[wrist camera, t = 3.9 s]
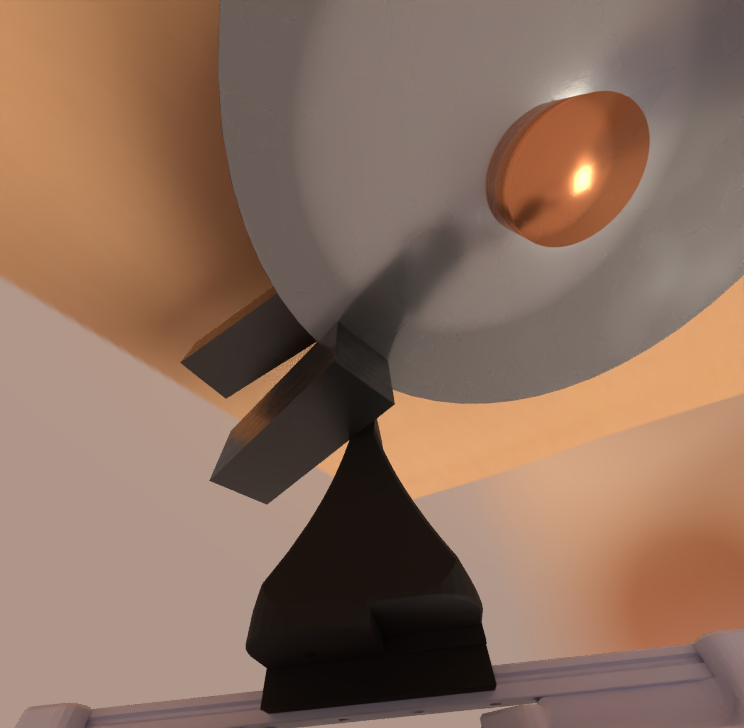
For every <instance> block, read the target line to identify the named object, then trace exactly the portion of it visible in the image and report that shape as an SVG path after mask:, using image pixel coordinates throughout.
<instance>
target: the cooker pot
mask: <svg viewBox="0 0 744 728" xmlns="http://www.w3.org/2000/svg"><path fill="white" fill-rule="evenodd" d="M315 342H317V341H316V340H315V339H314V338H313V337H312V336H311V335H310V334H309V333H308V332H307V330H306V329H305V328H304V327H303V326H302V325H301V324H300V323H299V322H298V321H297V319H296V318H295V317H294V315H293V314H292V313H291V311H290V310H289V309H288V307H287V306H286V305H285V303H284V302H283V300H282V299H281V298H280V296H279V295H278V293H277V291H276V290H275V288H274V286H273V287H272V288H271V289H269V290H268V291H266V292H265V293H264V294H262V295H261V296H260V297H258V298H257V299H255V300H254V301H253V302H251V303H250V304H249V305H247V306H246V307H244V308H243V309H242V310H240V311H239V312H238V313H236V314H235V315H233V316H232V317H231V318H229V319H228V320H227V321H225V322H224V323H223V324H221V325H220V326H218V327H217V328H216V329H214V330H213V331H212V332H210V333H209V334H207V335H206V336H205V337H203V338H202V339H201V340H199V341H198V342H196V344H195V345H194V346H193V347H192V349H191V350H190V351H189V352H188V354H187V355H186V356H185V357H184V359H183V360H182V361H181V362H180V363H181V364H183V365H184V366H185V367H186V368H188V369H189V370H190V371H192V372H193V373H194V374H195V375H197V376H198V377H199V378H200V379H202V380H203V381H204V382H205V383H207V384H208V385H209V386H211V387H212V388H213V389H214V390H216V391H217V392H218V393H219V394H221V395H222V396H223V397H224V398H228V397H229V396H231V395H233V394H234V393H236V392H237V391H239V390H240V389H242V388H244V387H245V386H247V385H248V384H250V383H252V382H253V381H255V380H256V379H258V378H260V377H261V376H263V375H264V374H266V373H268V372H269V371H271V370H272V369H274V368H275V367H277V366H279V365H280V364H282V363H283V362H285V361H287V360H288V359H290V358H291V357H293V356H295V355H296V354H298V353H299V352H301V351H302V350H304V349H306V348H307V347H309V346H310V345H312V344H314V343H315Z"/></svg>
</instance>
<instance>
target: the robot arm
mask: <svg viewBox="0 0 744 728" xmlns="http://www.w3.org/2000/svg"><path fill="white" fill-rule="evenodd" d="M482 613H483V607H482V603H481V600H480V597H479V595H478V593H477V590H476V588H475V586H474V585H473V583H472V581H471V579H470V577H469V576H468V574H467V572H466V571H465V569H464V567H463V566H462V564H461V562H460V560H459V559H458V557H457V556H456V555H455V553H454V552H453V551H452V550H451V549H450V548H449V547H448V546H447V544H446V543H445V542H444V541H443V540H442V538H441V537H440V536H439V535H438V533H437V532H436V531H435V530H434V529H433V527H432V526H431V525H430V523H429V522H428V521H427V520H426V518H425V517H424V515H423V514H422V513H421V511H420V510H419V509H418V507H417V506H416V504H415V503H414V502H413V500H412V499H411V497H410V496H409V494H408V493H407V491H406V490H405V488H404V486H403V485H402V483H401V482H400V480H399V478H398V477H397V475H396V473H395V471H394V470H393V468H392V466H391V464H390V462H389V460H388V458H387V456H386V454H385V452H384V450H383V446H382V440H381V435H380V431H379V426H378V422H377V419H375V420H374V421H373V422H371V423H370V424H369V425H368V426H366V427H365V428H364V429H363V430H361V431H360V432H359V433H357V434H356V435H355V436H354V437H352V438H351V439H350V440H349V443H348V446H347V448H346V451H345V454H344V456H343V459H342V461H341V463H340V466H339V468H338V470H337V472H336V475H335V477H334V479H333V481H332V483H331V485H330V487H329V489H328V490H327V492H326V494H325V496H324V498H323V500H322V501H321V503H320V505H319V506H318V508H317V510H316V512H315V513H314V515H313V516H312V518H311V520H310V521H309V523H308V524H307V526H306V527H305V529H304V530H303V531H302V533H301V534H300V536H299V537H298V538H297V540H296V541H295V543H294V544H293V546H292V547H291V548H290V550H289V551H288V552H287V554H286V555H285V556H284V558H283V559H282V560H281V561H280V563H279V564H278V565H277V566H276V568H275V569H274V570H273V571H272V573H271V574H270V575H269V576H268V578H267V579H266V580H265V581H264V582H263V584H262V586H261V589H260V592H259V594H258V598H257V601H256V604H255V607H254V610H253V614H252V618H251V622H250V627H249V632H248V637H247V641H246V650H247V652H248V654H249V655H250V656H251V657H252V658H254V659H255V660H256V661H258V662H259V663H260V664H262V665H263V666H265V667H266V668H267V671H266V676H265V682H264V688H263V691H255V692H246V693H237V694H227V695H218V696H209V697H201V698H190V699H181V700H173V701H164V702H154V703H144V704H135V705H126V706H117V707H108V708H99V709H91V708H90V707H88V706H86V705H82V704H77V703H60V704H52V705H43V706H33V707H29V708H28V709H26V710H25V711H24V713H23V714H22V716H21V718H20V719H19V721H18V723H17V724H16V726H15V728H297V727H307V726H317V725H326V724H336V723H346V722H356V721H366V720H376V719H385V718H395V717H404V716H415V715H425V714H435V713H444V712H454V711H464V710H473V709H483V708H494V707H503V706H513V705H519V706H514V707H510V708H506V709H502V710H497V711H493V712H489V713H485V714H482V716H481V718H480V720H481V725H482V727H481V728H744V628H738V629H729V630H721V631H714V632H710V633H707V634H703V635H701V636H699V637H698V638H697V639H696V640H695V641H694V644H687V645H677V646H668V647H659V648H650V649H641V650H632V651H622V652H612V653H604V654H594V655H585V656H576V657H567V658H557V659H548V660H539V661H530V662H521V663H512V664H503V665H494V666H492V665H491V661H490V658H489V654H488V650H487V646H486V643H487V642H486V637H485V634H484V630H483V626H482ZM533 703H537V704H533ZM523 704H527V705H523Z"/></svg>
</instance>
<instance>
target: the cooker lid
mask: <svg viewBox="0 0 744 728" xmlns="http://www.w3.org/2000/svg"><path fill="white" fill-rule="evenodd" d="M218 82H219V95H220V108H221V121H222V133H223V138H224V144H225V149H226V154H227V160H228V165H229V171H230V176H231V181H232V185H233V189H234V192H235V195H236V199H237V202H238V205H239V209H240V212H241V215H242V219H243V222H244V225H245V228H246V231H247V233H248V235H249V238H250V240H251V242H252V245H253V247H254V249H255V251H256V254H257V256H258V258H259V261H260V263H261V265H262V267H263V269H264V270H265V272H266V274H267V276H268V277H269V279H270V281H271V283H272V284H273V286H274V288H275V290H276V291H277V293H278V295H279V296H280V298H281V299H282V300H283V302H284V303H285V305H286V306H287V307H288V309H289V310H290V311H291V313H292V314H293V315H294V317H295V318H296V319H297V321H298V322H299V323H300V324H301V325H302V326H303V327H304V328H305V329H306V330H307V332H308V333H309V334H310V335H311V336H312V337H313V338H314V339H315V340H316V341H317V343H316V344H315V345H314V346H313V347H312V348H311V349H310V350H309V351H308V352H307V353H306V354H305V355H304V356H303V357H302V358H301V359H300V361H299V362H298V363H297V364H296V365H295V366H294V367H293V368H292V369H291V370H290V371H289V372H288V373H287V374H286V375H285V376H284V377H283V378H282V379H281V380H280V381H279V382H278V383H277V384H276V385H275V386H274V387H273V388H272V389H271V390H270V391H269V392H268V393H267V394H266V396H265V397H264V398H263V399H262V400H261V401H260V402H259V403H258V404H257V405H256V406H255V407H254V408H253V409H252V410H251V411H250V412H249V413H248V414H247V415H246V416H245V417H244V418H243V419H242V420H241V421H240V422H239V423H238V424H237V426H236V427H234V428H233V429H232V431H231V432H230V434H229V437H228V439H227V441H226V444H225V446H224V448H223V451H222V453H221V456H220V458H219V460H218V462H217V464H216V467H215V469H214V471H213V474H212V476H211V478H210V481H211V482H214V483H216V484H219V485H221V486H224V487H226V488H228V489H231V490H234V491H236V492H238V493H240V494H243V495H246V496H248V497H250V498H252V499H255V500H257V501H260V502H262V503H265V504H268V503H269V502H271V501H272V500H273V499H274V498H276V497H277V496H278V495H280V494H281V493H282V492H284V491H285V490H286V489H287V488H289V487H290V486H291V485H292V484H294V483H295V482H296V481H297V480H299V479H300V478H301V477H302V476H304V475H305V474H307V473H308V472H309V471H310V470H312V469H313V468H314V467H315V466H317V465H318V464H319V463H321V462H322V461H323V460H324V459H326V458H327V457H328V456H329V455H331V454H332V453H333V452H335V451H336V450H337V449H338V448H340V447H341V446H342V445H343V444H345V443H346V442H347V441H349V440H350V439H351V438H352V437H354V436H355V435H356V434H357V433H359V432H360V431H361V430H363V429H364V428H365V427H366V426H368V425H369V424H370V423H371V422H373V421H374V420H375V419H377V418H378V417H379V416H380V415H382V414H383V413H384V412H385V411H387V410H388V409H389V408H391V407H392V406H393V405H394V404H395V403H394V396H393V390H396V391H399V392H402V393H405V394H408V395H411V396H415V397H420V398H424V399H429V400H434V401H441V402H451V403H496V402H506V401H514V400H519V399H524V398H529V397H535V396H539V395H543V394H546V393H550V392H553V391H557V390H560V389H564V388H567V387H569V386H572V385H575V384H577V383H580V382H583V381H585V380H588V379H591V378H593V377H595V376H597V375H600V374H602V373H604V372H606V371H608V370H610V369H612V368H614V367H617V366H619V365H621V364H623V363H624V362H626V361H628V360H630V359H631V358H633V357H635V356H637V355H639V354H640V353H642V352H644V351H646V350H647V349H649V348H651V347H652V346H654V345H655V344H657V343H658V342H660V341H661V340H663V339H664V338H666V337H667V336H669V335H670V334H672V333H673V332H675V331H676V330H678V329H679V328H681V327H682V326H683V325H685V324H686V323H687V322H689V321H690V320H691V319H692V318H694V317H695V316H696V315H698V314H699V313H700V312H702V311H703V310H704V309H705V308H707V307H708V306H709V305H711V304H712V303H713V302H714V301H715V300H716V299H717V298H718V297H720V296H721V295H722V294H723V293H724V292H725V291H726V290H728V289H729V288H730V287H731V286H732V285H733V284H734V283H735V282H737V281H738V280H739V279H740V278H741V277H742V276H743V275H744V0H220V13H219V50H218ZM392 389H393V390H392Z"/></svg>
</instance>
